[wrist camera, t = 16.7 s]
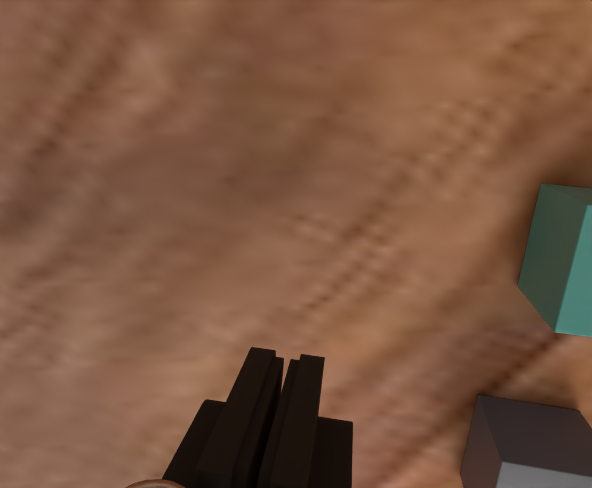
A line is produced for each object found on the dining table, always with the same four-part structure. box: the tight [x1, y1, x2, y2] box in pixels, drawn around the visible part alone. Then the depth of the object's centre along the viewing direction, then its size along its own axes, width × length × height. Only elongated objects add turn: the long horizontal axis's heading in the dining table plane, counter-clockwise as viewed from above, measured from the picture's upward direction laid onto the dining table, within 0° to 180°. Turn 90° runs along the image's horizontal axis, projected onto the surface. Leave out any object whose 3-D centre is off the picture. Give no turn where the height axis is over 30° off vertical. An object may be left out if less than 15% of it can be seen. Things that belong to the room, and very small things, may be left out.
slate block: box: [460, 395, 592, 488], centre depth 23 cm, size 5×5×5 cm
